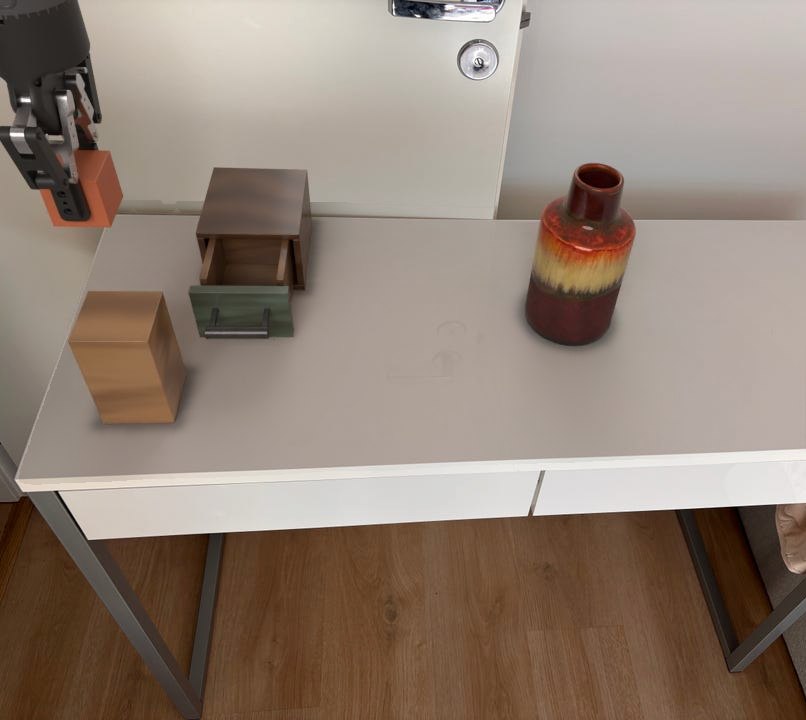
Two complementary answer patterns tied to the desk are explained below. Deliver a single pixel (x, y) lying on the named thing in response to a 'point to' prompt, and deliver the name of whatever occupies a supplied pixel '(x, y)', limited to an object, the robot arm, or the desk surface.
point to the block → (91, 189)
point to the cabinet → (259, 210)
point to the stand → (129, 356)
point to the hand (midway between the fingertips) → (85, 199)
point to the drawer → (245, 289)
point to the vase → (580, 258)
